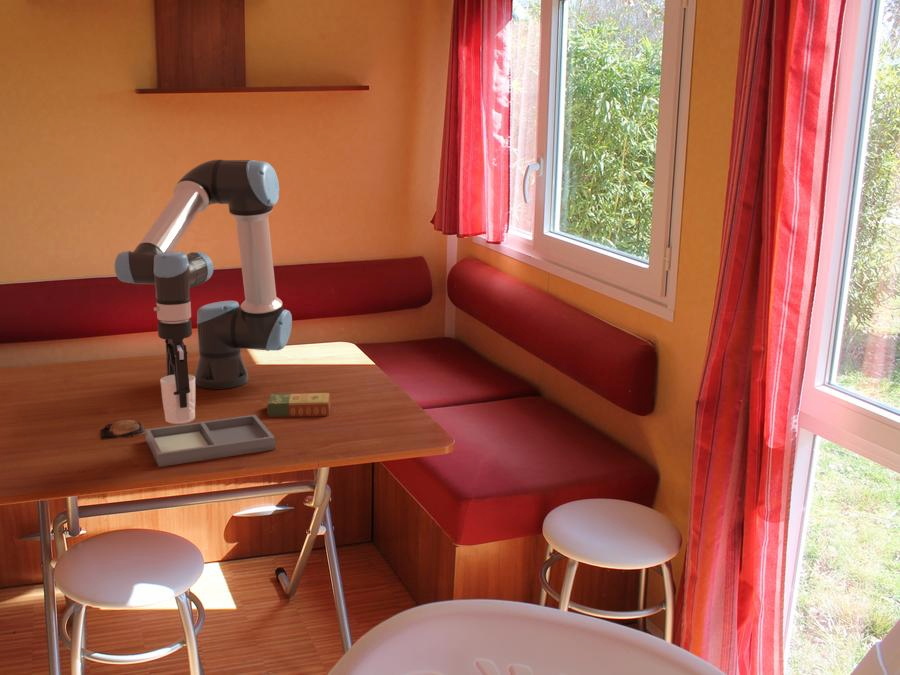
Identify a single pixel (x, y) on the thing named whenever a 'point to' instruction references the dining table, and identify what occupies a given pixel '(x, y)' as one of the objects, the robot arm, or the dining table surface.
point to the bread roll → (122, 429)
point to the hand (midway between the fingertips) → (180, 414)
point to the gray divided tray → (208, 440)
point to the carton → (299, 404)
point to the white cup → (170, 399)
